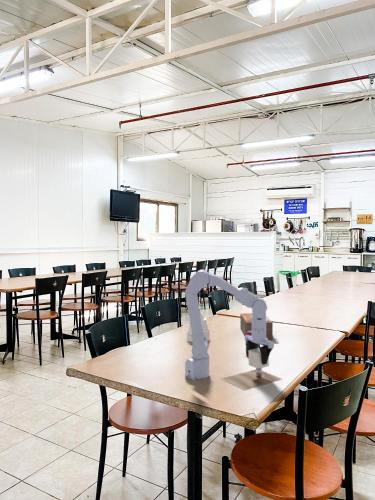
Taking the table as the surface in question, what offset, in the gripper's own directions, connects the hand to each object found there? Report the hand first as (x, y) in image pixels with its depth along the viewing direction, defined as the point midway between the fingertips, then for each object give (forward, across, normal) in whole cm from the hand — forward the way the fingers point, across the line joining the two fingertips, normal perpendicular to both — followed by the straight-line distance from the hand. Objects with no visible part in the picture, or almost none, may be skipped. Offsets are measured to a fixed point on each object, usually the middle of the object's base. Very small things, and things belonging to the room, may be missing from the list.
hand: (258, 361), depth 155 cm
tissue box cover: (+8, +55, -50) cm, 75 cm away
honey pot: (+8, +64, -15) cm, 66 cm away
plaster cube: (+1, 0, 0) cm, 1 cm away
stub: (+6, 0, 0) cm, 6 cm away
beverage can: (+8, +25, -20) cm, 33 cm away
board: (+8, 0, +4) cm, 8 cm away
